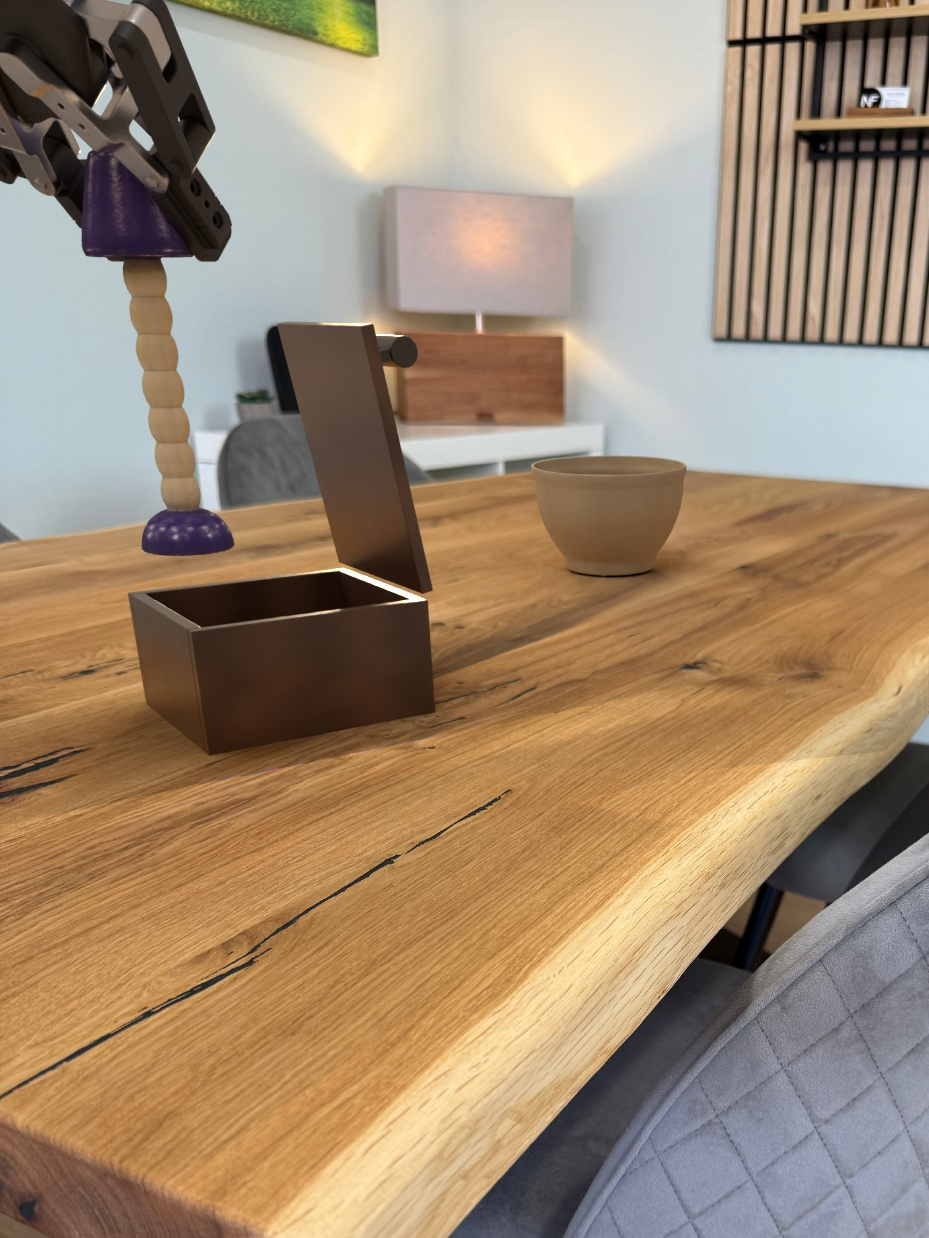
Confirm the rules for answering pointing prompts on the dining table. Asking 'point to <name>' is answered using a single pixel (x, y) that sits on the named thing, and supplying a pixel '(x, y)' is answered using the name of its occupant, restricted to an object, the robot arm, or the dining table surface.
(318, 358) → the lid
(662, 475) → the planter bowl
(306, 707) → the chest
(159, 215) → the toy lamp
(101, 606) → the dining table surface
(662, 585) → the dining table surface
